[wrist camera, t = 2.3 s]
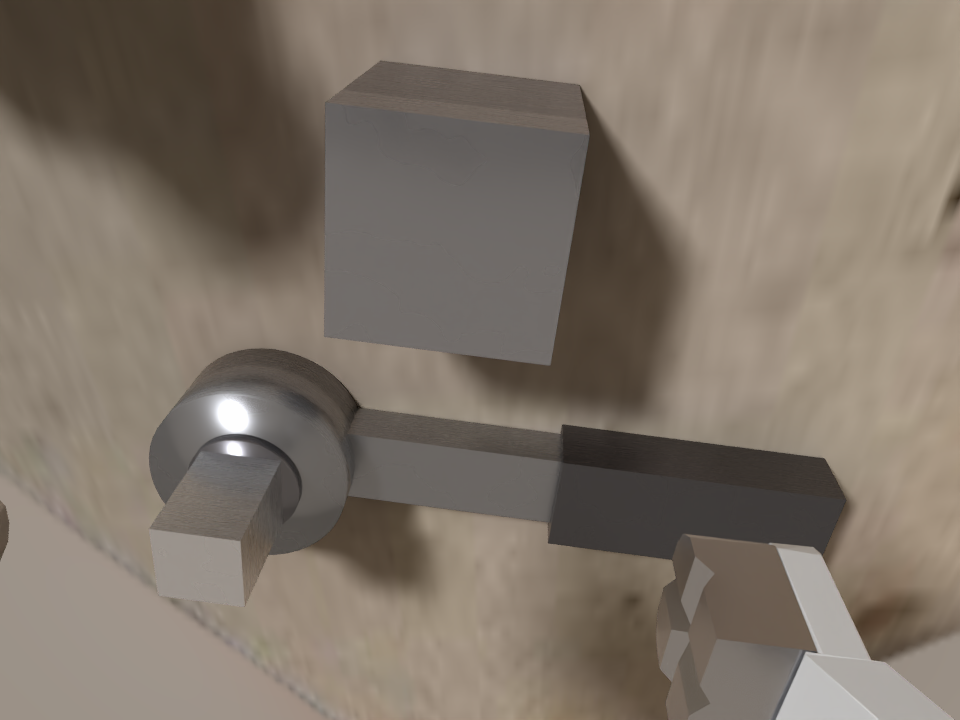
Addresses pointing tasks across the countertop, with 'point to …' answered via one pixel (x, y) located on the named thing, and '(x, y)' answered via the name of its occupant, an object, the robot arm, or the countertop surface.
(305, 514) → the ratchet
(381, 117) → the grey metal cube
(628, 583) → the countertop surface
